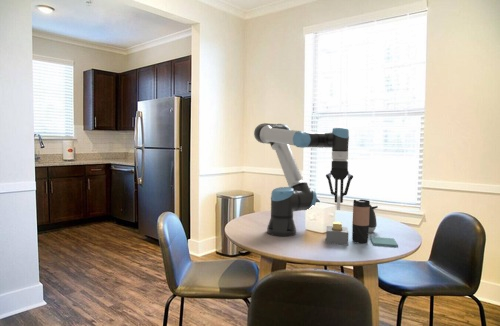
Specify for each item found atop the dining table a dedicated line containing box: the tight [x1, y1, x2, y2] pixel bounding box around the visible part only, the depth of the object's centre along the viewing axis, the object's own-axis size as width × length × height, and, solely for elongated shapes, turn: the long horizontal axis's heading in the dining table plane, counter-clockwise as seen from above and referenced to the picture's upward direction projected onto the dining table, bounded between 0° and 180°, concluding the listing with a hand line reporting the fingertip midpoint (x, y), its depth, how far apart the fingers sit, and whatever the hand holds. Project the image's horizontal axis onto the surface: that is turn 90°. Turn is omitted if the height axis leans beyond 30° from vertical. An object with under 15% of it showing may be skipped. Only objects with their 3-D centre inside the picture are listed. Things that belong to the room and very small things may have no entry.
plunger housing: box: [325, 225, 349, 246], centre depth 168 cm, size 10×10×6 cm
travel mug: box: [351, 199, 371, 245], centre depth 168 cm, size 8×8×20 cm
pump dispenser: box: [368, 204, 378, 234], centre depth 186 cm, size 10×10×15 cm
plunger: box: [332, 221, 343, 231], centre depth 168 cm, size 4×4×6 cm
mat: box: [370, 236, 399, 248], centre depth 167 cm, size 11×11×1 cm
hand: (338, 209), depth 167 cm, fingers closed
